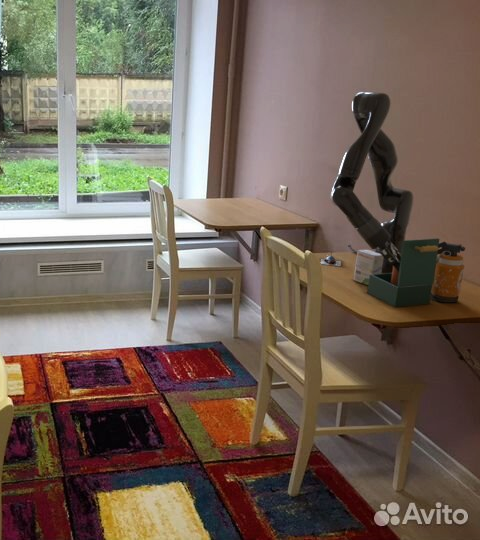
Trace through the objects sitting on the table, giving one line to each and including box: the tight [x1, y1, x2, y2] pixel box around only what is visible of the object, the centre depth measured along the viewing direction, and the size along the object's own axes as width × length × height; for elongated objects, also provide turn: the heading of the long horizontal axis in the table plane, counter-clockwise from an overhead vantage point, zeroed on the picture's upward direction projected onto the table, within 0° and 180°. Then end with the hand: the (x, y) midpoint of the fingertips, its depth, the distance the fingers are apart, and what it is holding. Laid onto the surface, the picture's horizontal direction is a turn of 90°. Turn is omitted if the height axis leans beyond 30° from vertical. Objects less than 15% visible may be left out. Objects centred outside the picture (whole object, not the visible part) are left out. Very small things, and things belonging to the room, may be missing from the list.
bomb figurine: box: [320, 249, 342, 267], centre depth 249 cm, size 8×8×6 cm
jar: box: [391, 260, 403, 287], centre depth 208 cm, size 4×4×12 cm
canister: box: [430, 241, 466, 303], centre depth 206 cm, size 9×11×20 cm
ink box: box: [353, 249, 384, 286], centre depth 223 cm, size 8×5×12 cm, turn 25°
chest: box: [366, 273, 432, 308], centre depth 209 cm, size 15×14×7 cm
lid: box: [398, 237, 440, 287], centre depth 197 cm, size 15×14×5 cm
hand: (404, 269), depth 207 cm, fingers open, 8 cm apart
